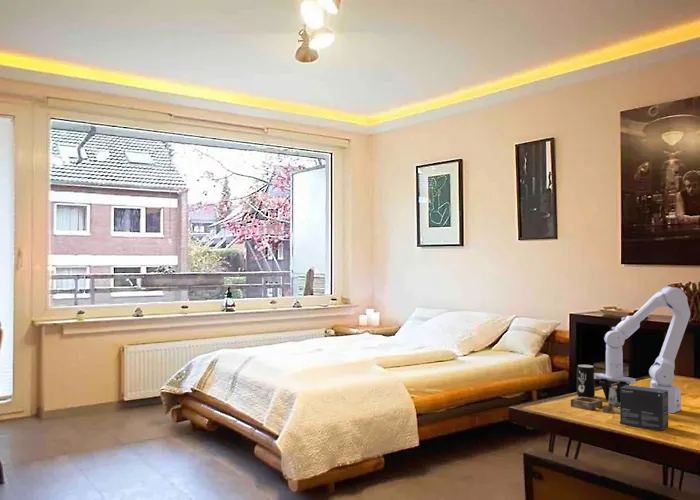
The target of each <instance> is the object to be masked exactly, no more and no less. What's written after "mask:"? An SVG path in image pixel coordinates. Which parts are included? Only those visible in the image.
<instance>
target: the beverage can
mask: <svg viewBox="0 0 700 500" xmlns="http://www.w3.org/2000/svg"><path fill="white" fill-rule="evenodd" d="M594 373H596V371H595V368H594V365H591V364H578V365H577V367H576V394H577V396H578V397H581V396H583V397H588V398H594V396H595V394H596V392H595V391H596V390H595V389H596V387H595V386H596V385H595V384H596V379H594Z"/></svg>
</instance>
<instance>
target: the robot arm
mask: <svg viewBox="0 0 700 500" xmlns="http://www.w3.org/2000/svg"><path fill="white" fill-rule="evenodd" d="M663 307H667V308H668V309H669V310H670V312H671V313H672V318H671V320H670V323H669V326H668V329H667V332H666V334H665V338H664V341H663V343H662V346H661V349H660V352H659V355H658V356H657V357H656V358H655V360H654V363H653V364H652V365H651V366H650V368H649V369H648V374H649V376H650V378H651V380H650V383H649V388H655V389H663V390H668V414H669V413H670V414H675V413H677V412H680V411H682V392H681V388H680V387H679V386H675V385H674V384H673V382H674V380H675V372H674V371H675V368H676V367H675V366H676V365H675V364H676V363H675V360H676V357H677V354H678V352H679V349H680V346H681V342H682V340H683V338H684V334H685V332H686V329H687V326H688V323H689V320H690V317H691V311H690V310H691V309H690V305H689V302H688V296H687V295H686V294H685V292H684V291H683V290H682V289H681V288H679V287H672V286H664V287H662V288H661V289H660V290H659V291H657V292H656V293H654V294H653V295H652V296H651V297H650V298H649V299H648V300H646V302H645V303H644V304H643V305H642V306H641V307H640V308H639V309H638V310H637V311H636V312H634V314H633V315H627V316H623V317H621V321H620V322H619V323H617V325H616V326H612V327H611V330H609V331H607V332H606V333H605V334H604V336H603V340H604V342H605V373H601V372H600V373H599V372H595V373H594V379H595V380H599V384H600V387H601V388H602V390H603V394H604V397H605V400H606V401H607V402H608V387H609V386H612V383H613V382H617V383H616V387H617V388H618V403H620V387H623V386H625V385H631V386H634V385H636V378H633V377H628V376H624V366H623V365H624V362H623V361H624V360H623V359H624V357H623V355H624V354H623V346H624V344H625V340H627V339H628V338H630V337H631V336H632V335H633V334H634V333H635V332H636V331H637V330H638V329H640V327H641V322H643V320H645V319H646V318H647V317H648V316H649V315H650V314H651V313H653V312H654V311H656V309H659V308H663Z"/></svg>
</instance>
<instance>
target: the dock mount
mask: <svg viewBox="0 0 700 500" xmlns="http://www.w3.org/2000/svg"><path fill="white" fill-rule="evenodd" d="M610 406H612V407H615V404H613V403H609V406H608V404H604V405H603V399H598V398H594V397H592V398H588V397H583V396H581V397H579V396H578V397H575V398H572V399H571V398H570V407H572V408H578V409H583V410H587V409H588V411H595V410H596V409H600V407H601V408H602V413H606V412H607V414H608V413H611V412H610ZM594 409H595V410H594Z"/></svg>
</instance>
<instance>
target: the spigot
mask: <svg viewBox="0 0 700 500" xmlns="http://www.w3.org/2000/svg"><path fill="white" fill-rule="evenodd" d="M607 402H608V403H607V405H608V406H609V403H613V404H615V407H620V403H618V388H617V385H616V386H613V385H611V386H609V387H608V401H607Z"/></svg>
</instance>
